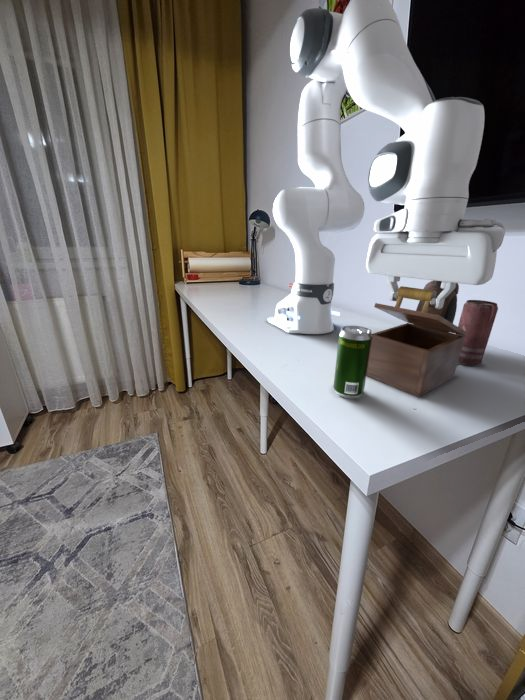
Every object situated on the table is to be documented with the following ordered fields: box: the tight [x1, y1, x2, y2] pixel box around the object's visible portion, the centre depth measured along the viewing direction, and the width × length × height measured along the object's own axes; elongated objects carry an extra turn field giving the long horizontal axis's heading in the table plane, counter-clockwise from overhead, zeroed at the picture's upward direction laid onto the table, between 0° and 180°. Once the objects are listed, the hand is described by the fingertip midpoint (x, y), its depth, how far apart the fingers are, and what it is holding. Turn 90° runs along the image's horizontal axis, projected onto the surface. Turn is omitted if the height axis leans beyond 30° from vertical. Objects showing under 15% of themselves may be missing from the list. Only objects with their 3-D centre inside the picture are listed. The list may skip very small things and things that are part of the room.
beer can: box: [333, 325, 372, 400], centre depth 51 cm, size 5×5×12 cm
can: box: [457, 299, 499, 367], centre depth 65 cm, size 6×6×14 cm
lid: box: [373, 285, 466, 336], centre depth 55 cm, size 15×12×5 cm
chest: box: [366, 322, 465, 398], centre depth 58 cm, size 15×12×9 cm
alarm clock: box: [414, 280, 460, 332], centre depth 73 cm, size 15×7×20 cm, turn 136°
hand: (414, 304), depth 52 cm, fingers closed on lid, 6 cm apart
